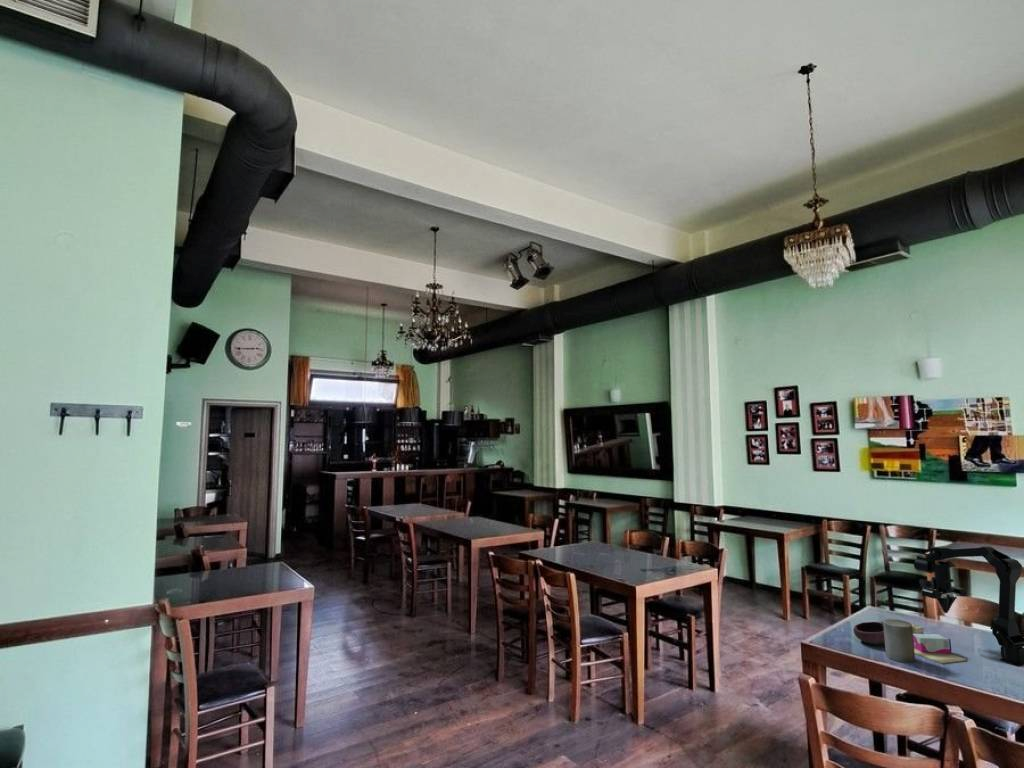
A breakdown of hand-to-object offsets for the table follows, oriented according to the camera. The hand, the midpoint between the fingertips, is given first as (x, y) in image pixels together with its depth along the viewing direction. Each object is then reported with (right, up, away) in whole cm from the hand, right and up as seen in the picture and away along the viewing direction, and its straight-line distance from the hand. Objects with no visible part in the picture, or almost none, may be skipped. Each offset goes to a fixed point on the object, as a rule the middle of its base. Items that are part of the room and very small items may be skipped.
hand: (945, 612), depth 238 cm
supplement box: (-10, -7, -13) cm, 18 cm away
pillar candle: (-34, -10, -19) cm, 40 cm away
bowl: (-33, -12, -2) cm, 35 cm away
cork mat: (-17, -10, -16) cm, 26 cm away
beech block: (-17, -12, -6) cm, 22 cm away
